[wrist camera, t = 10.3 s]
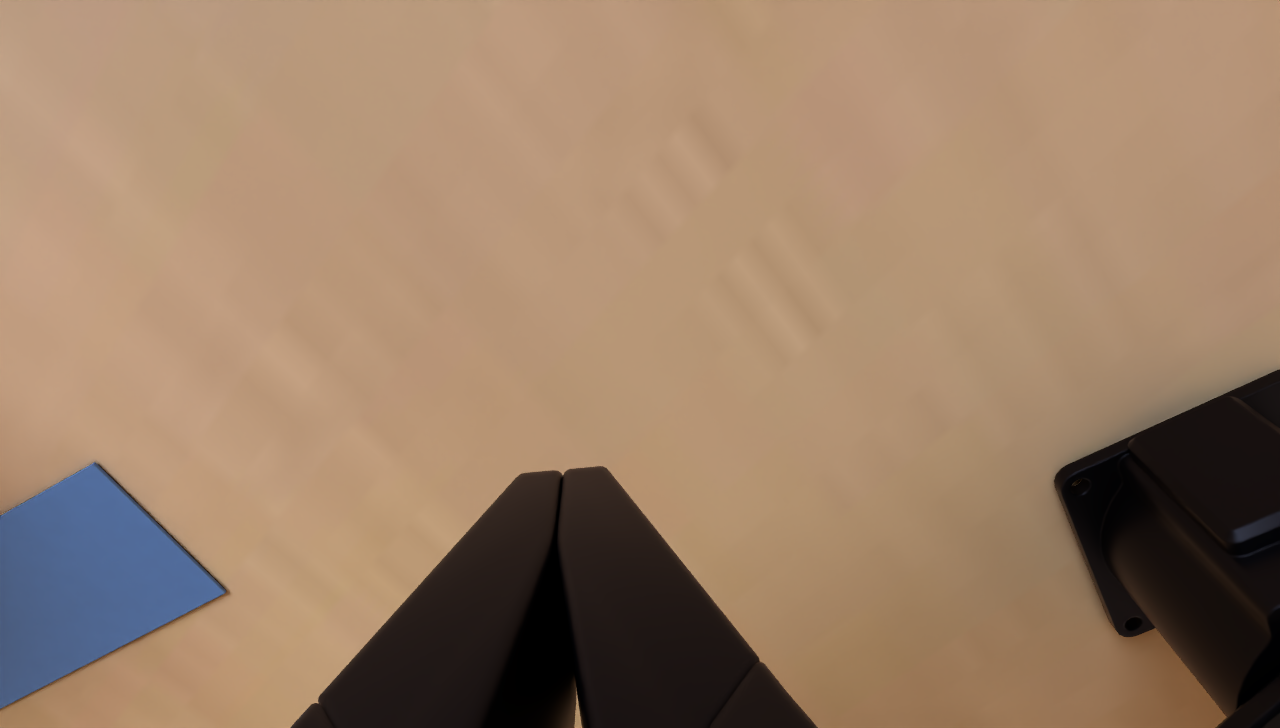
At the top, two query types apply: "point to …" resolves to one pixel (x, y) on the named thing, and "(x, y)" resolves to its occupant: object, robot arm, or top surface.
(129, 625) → the tape strip
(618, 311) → the top surface
